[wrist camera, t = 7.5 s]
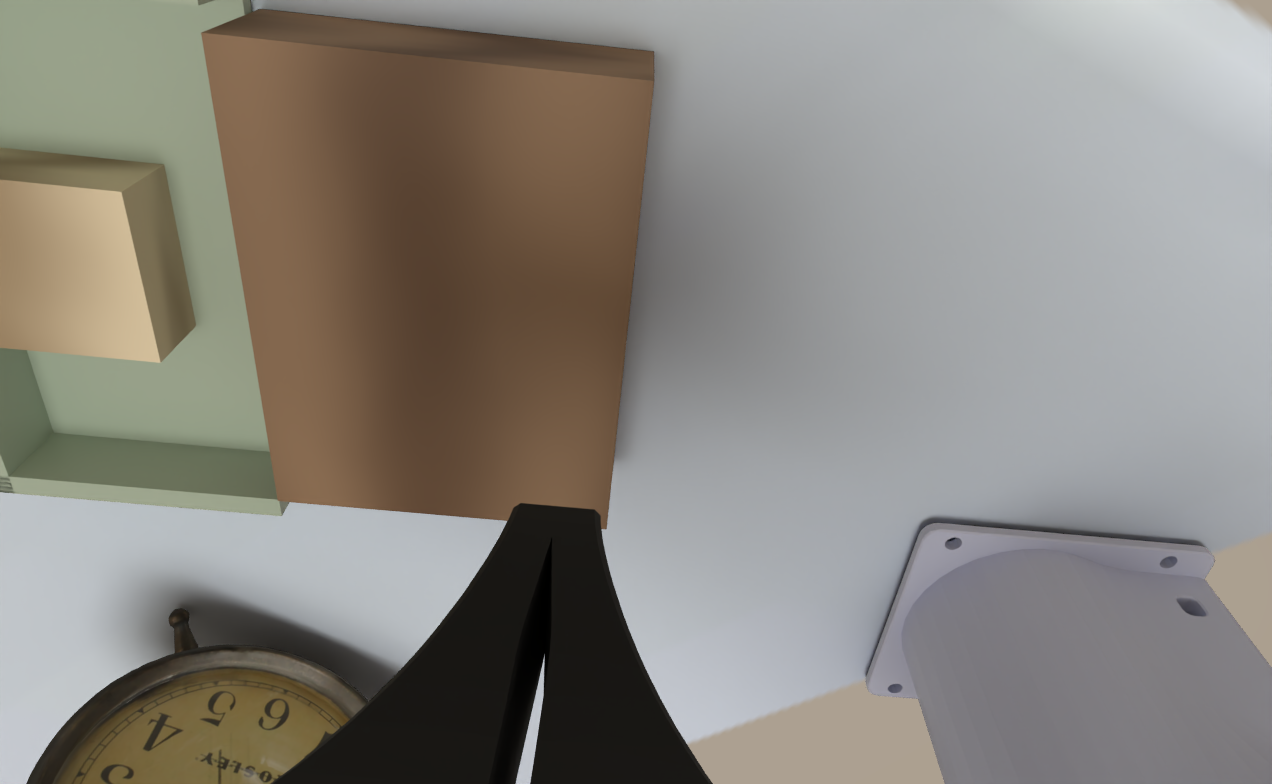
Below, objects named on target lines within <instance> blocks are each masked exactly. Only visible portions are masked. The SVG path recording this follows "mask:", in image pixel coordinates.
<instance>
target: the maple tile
mask: <svg viewBox="0 0 1272 784" xmlns="http://www.w3.org/2000/svg"><path fill="white" fill-rule="evenodd" d="M195 327H196V322H195V317H194V312H193V307H192V302H191V297H190V292H189V287H188V282H187V276H186V271H185V266H184V261H183V256H182V251H181V246H180V241H179V236H178V231H177V226H176V221H175V216H174V211H173V206H172V201H171V196H170V191H169V186H168V181H167V176H166V171H165V166H164V164H155V163H145V162H135V161H126V160H116V159H106V158H97V157H87V156H77V155H68V154H58V153H48V152H39V151H29V150H19V149H10V148H0V348H8V349H19V350H29V351H40V352H51V353H61V354H72V355H83V356H93V357H104V358H115V359H125V360H136V361H146V362H157V363H161V362H162V361H163V360H164V359H165V358H166V357H167V356H168V355H169V354H170V353H171V352H172V351H173V350H174V348H175V347H176V346H177V345H178V344H179V343H180V342H181V341H182V340H183V339H184V338H185V337H186V336H187V335H188V334H189V333H190V332H191V331H192V330H193V329H194V328H195Z"/></svg>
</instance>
